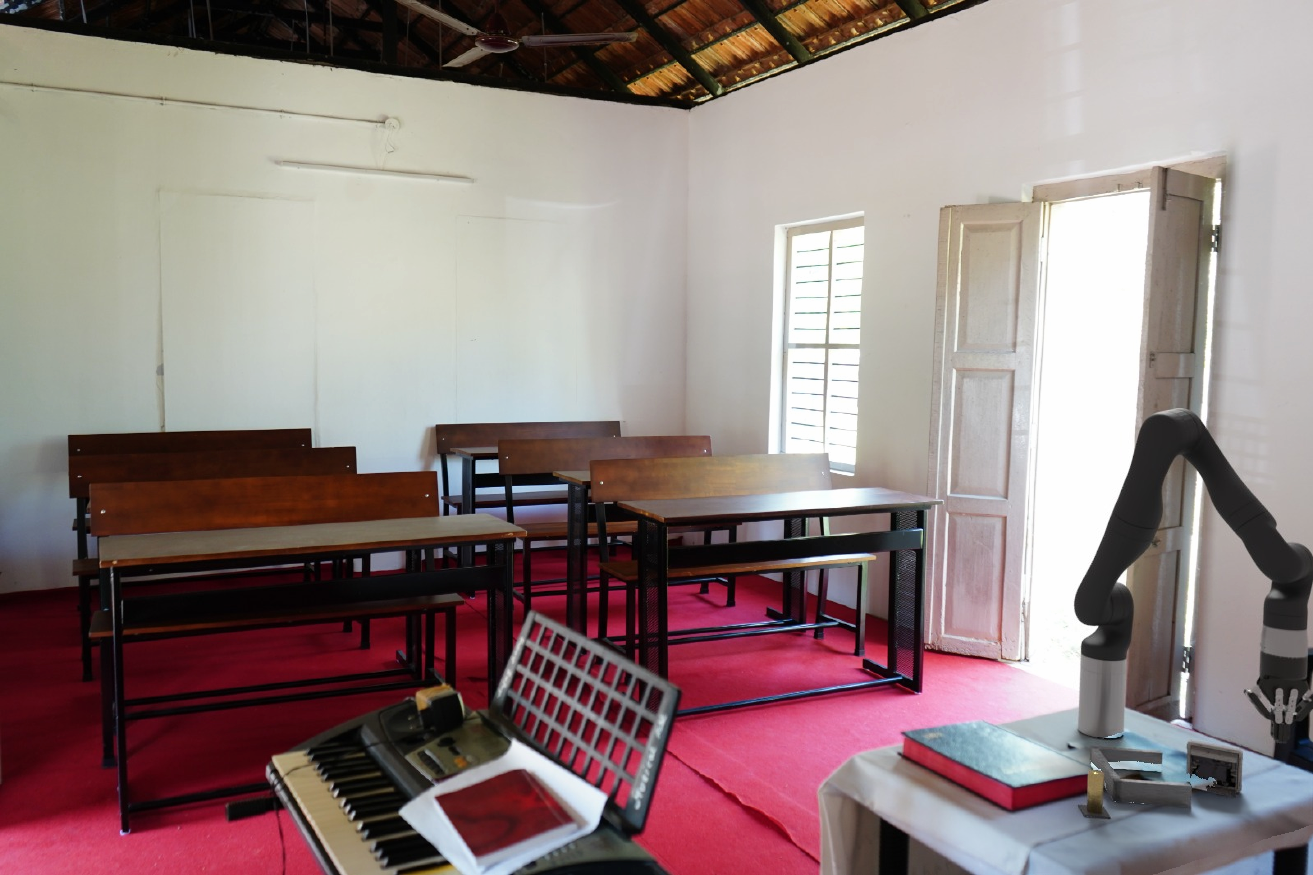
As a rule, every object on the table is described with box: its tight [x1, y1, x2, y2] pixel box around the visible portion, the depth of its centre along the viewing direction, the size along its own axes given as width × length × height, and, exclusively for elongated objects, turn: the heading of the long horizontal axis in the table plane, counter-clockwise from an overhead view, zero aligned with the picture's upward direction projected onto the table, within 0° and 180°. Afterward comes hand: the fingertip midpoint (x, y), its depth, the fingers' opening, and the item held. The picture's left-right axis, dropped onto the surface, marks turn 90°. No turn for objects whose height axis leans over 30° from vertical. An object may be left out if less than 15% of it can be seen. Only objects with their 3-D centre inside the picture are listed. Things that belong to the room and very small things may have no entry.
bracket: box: [1089, 745, 1193, 808], centre depth 193 cm, size 17×13×4 cm
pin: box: [1086, 769, 1104, 814], centre depth 181 cm, size 3×3×7 cm
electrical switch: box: [1185, 739, 1244, 798], centre depth 190 cm, size 9×5×9 cm, turn 57°
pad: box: [1078, 804, 1111, 820], centre depth 181 cm, size 4×4×1 cm
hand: (1280, 741), depth 188 cm, fingers closed
